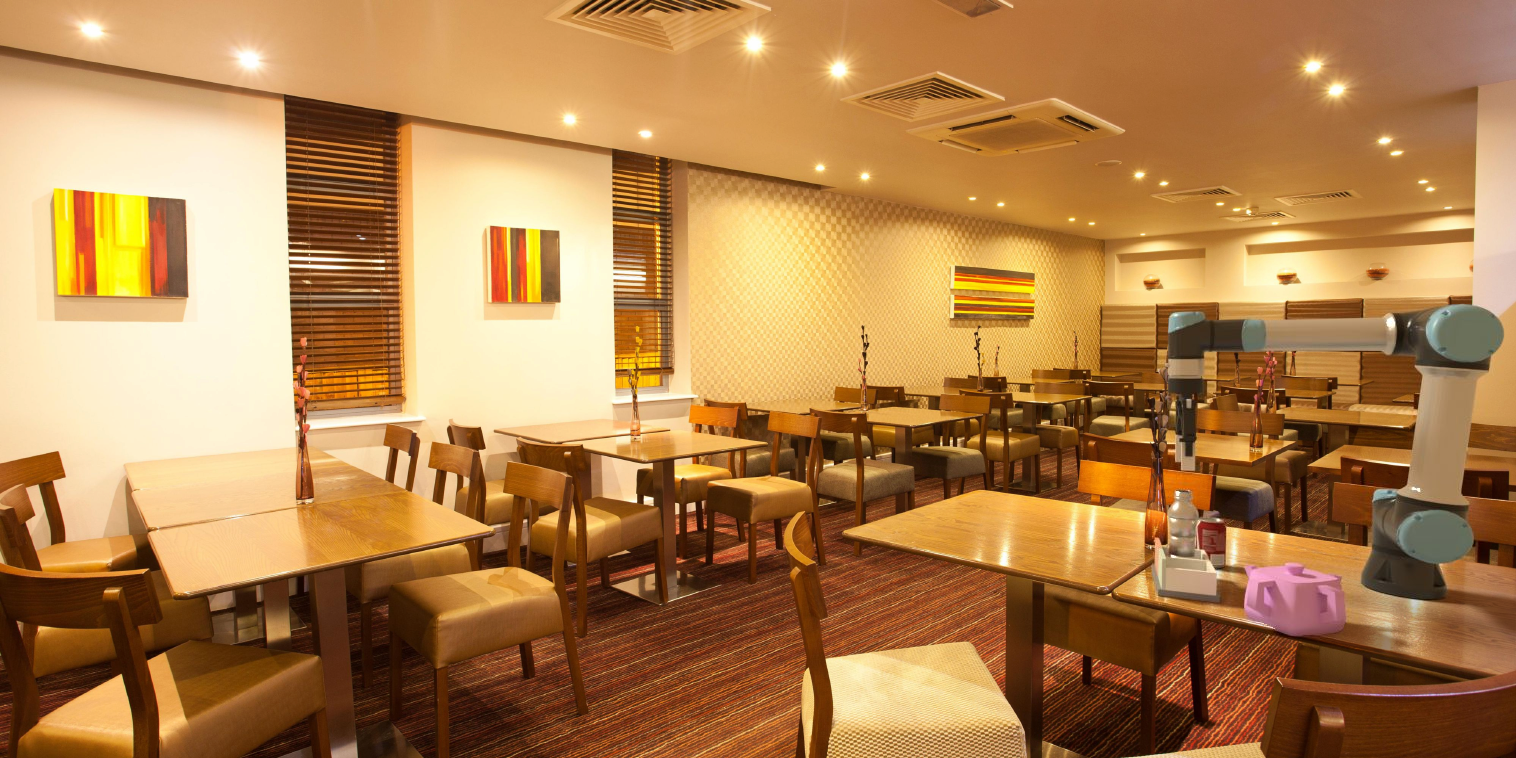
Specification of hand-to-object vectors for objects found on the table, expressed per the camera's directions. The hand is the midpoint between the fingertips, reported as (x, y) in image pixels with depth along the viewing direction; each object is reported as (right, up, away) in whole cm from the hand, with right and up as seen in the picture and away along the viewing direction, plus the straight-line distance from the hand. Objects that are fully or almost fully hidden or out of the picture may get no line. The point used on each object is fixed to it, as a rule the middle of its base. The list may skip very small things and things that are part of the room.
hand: (1184, 466), depth 181 cm
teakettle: (+7, -29, -27) cm, 40 cm away
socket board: (-2, -28, -3) cm, 28 cm away
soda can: (+14, -27, +13) cm, 33 cm away
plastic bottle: (0, -26, +1) cm, 26 cm away
